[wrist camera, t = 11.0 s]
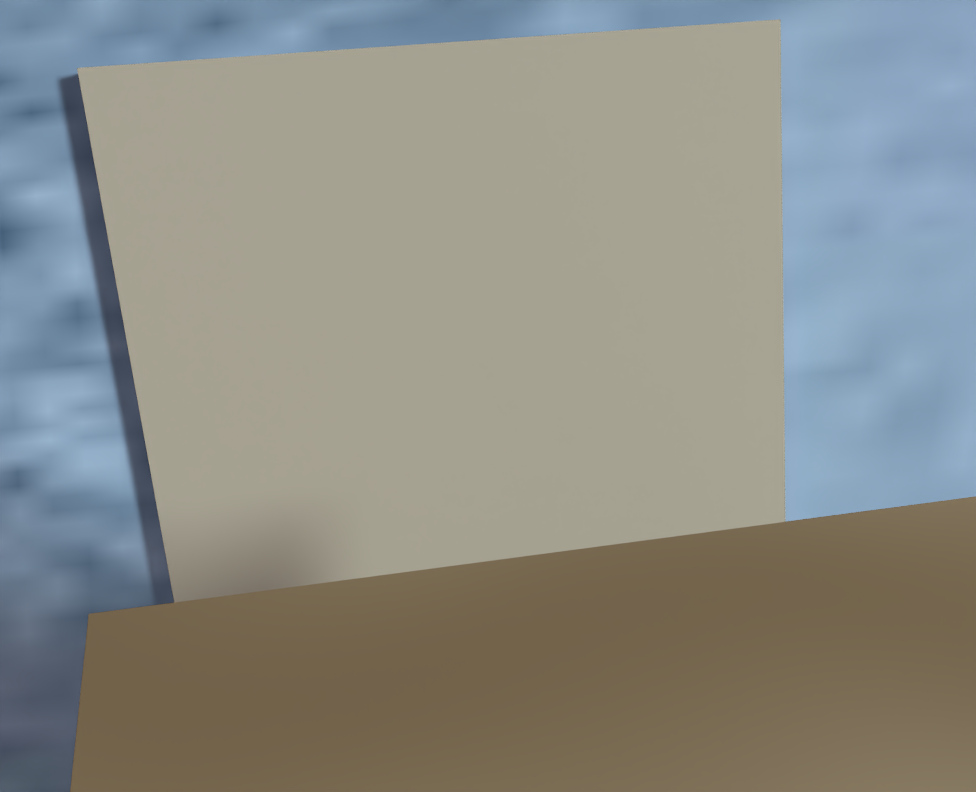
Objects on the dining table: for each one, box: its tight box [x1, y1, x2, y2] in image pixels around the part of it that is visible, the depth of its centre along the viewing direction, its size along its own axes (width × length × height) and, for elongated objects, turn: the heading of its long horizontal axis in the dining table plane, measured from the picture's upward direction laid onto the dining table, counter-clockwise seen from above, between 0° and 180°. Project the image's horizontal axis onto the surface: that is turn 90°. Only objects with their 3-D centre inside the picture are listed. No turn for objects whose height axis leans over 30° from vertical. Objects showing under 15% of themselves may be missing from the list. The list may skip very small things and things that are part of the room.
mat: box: [77, 20, 785, 603], centre depth 21 cm, size 18×16×1 cm
